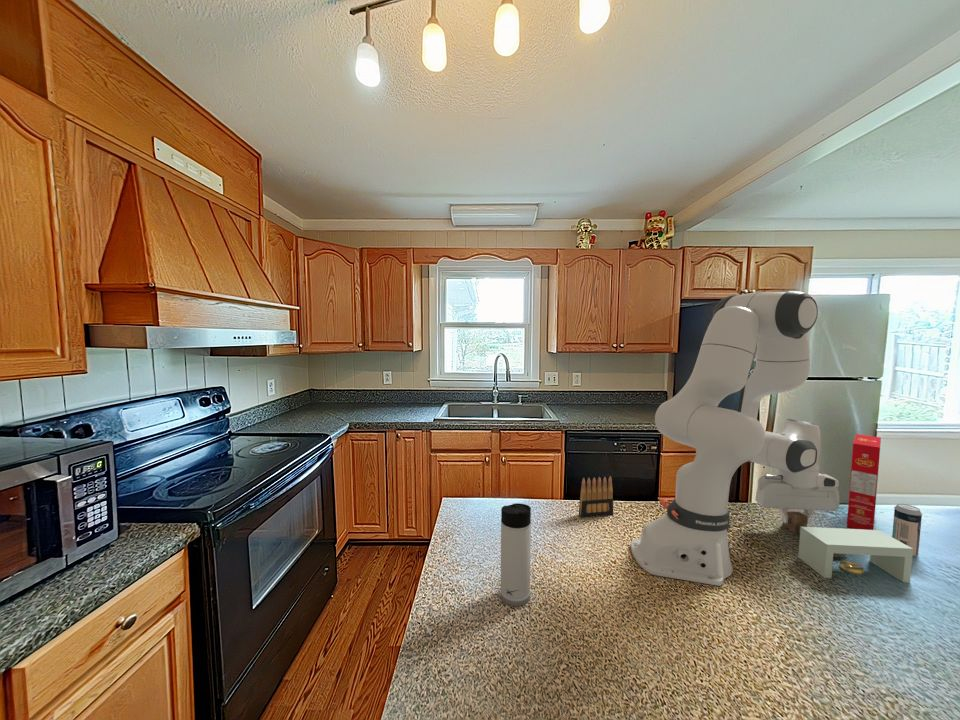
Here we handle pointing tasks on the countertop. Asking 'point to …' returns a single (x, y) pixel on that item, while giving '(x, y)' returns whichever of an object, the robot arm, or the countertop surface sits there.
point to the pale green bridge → (854, 549)
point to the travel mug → (515, 554)
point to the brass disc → (851, 567)
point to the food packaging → (863, 482)
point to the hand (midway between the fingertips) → (794, 522)
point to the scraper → (801, 525)
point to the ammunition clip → (596, 498)
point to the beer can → (907, 526)
